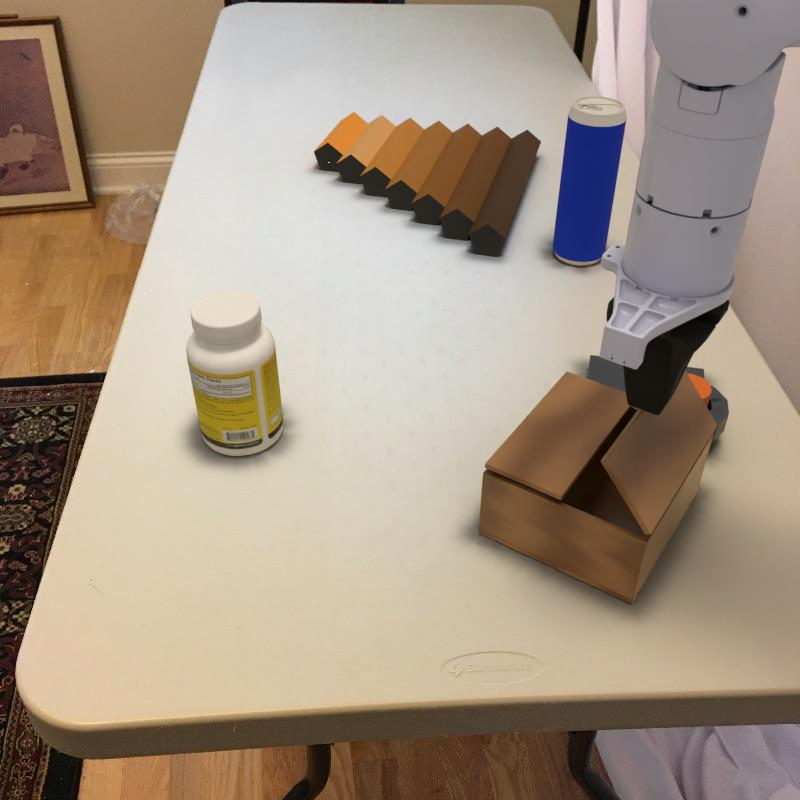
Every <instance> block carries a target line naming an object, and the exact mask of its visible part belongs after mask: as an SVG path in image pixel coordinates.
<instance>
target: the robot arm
mask: <svg viewBox="0 0 800 800" xmlns="http://www.w3.org/2000/svg"><path fill="white" fill-rule="evenodd" d="M649 29H650V36H651V40H652V43H653V46H654V49H655V51H656V53H657V55H658V57H659V61H658V67H657V71H656V72H657V73H656V79H655V84H654V90H653V95H652V97H651V99H650V101H649V108H648V113H647V119H646V125H645V130H644V135H643V142H642V147H641V154H640V159H639V166H638V171H637V176H636V182H635V190H634V195H633V201H632V205H631V212H630V217H629V223H628V228H627V234H626V239H625V244H620V243H619V244H618V243H615V244H612V245H610V246H609V247H608V248H607V249H606V250H605V252H604V253H603V255H602V258H601V259H600V267H601V268H602V269H604V270H606V271H608V272H612V273H614V274H615V276H616V277H615V284H614V285H615V286H614V296H613V297H612V298H611V299H610V300H609V302H608V303H607V308H606V324H604V327H603V333H602V339H601V344H600V345H601V346H600V351H599V356H600V357H601V358H603V359H606V360H609V361H611V362H614V363H617V364H620V365H623V370H624V381H625V391H626V398H627V403H628V405H630V406H633V407H635V408H638V409H641V410H644V411H646V412H649V413H652V414H654V415H660V414H661V412H662V411H663V409H664V408H665V406H666V405H667V403H668V402H669V401H670V399H671V398H672V396H673V394H674V392H675V391H676V389H677V387H678V385H679V383H680V381H681V378H682V376H683V374H684V372H685V370H686V368H687V367H689V364H690V362H691V360H692V359H693V356H694V355H695V353H696V352H697V351H698V350H699V349H700V348H701V347H702V346H703V345H704V343H706V341H707V340H708V339H709V337H710V336H711V335H712V333H713V332H714V330H715V329H716V328H717V325H719V323H720V322H721V320H722V319H723V317H725V315H726V313H727V312H728V310H729V308H730V300H729V299H730V298H731V296H732V293H733V291H734V287H735V283H736V270H735V267H736V265H737V259H738V256H739V251H740V249H741V245H742V241H743V237H744V233H745V229H746V225H747V221H748V218H749V214H750V210H751V207H752V202H753V198H754V194H755V190H756V187H757V183H758V179H759V175H760V171H761V169H762V164H763V160H764V156H765V153H766V148H767V145H768V141H769V137H770V133H771V130H772V126H773V124H774V123H773V122H774V119H775V100H776V97H777V94H778V93H777V92H778V89H779V85H780V81H781V77H782V73H783V70H784V65H785V61H786V59H787V53H786V52H784V51H783V50H784V49H788V48H800V0H653V1H652V4H651V9H650V16H649Z"/></svg>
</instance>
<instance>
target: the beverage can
mask: <svg viewBox="0 0 800 800" xmlns="http://www.w3.org/2000/svg"><path fill="white" fill-rule="evenodd" d="M626 111H627V110H626V107H625V104H624V103H622V102H621V101H619V100H617V99H615V98H610V97H607V96H606V97H605V96H597V95H596V96H595V95H594V96H584V97H580V98H577V99H576V100H574V101H573V102H572V105H571V107H570V109H569V111H568V113H567V122H566V129H565V139H564V147H563V156H562V164H561V172H560V180H559V189H558V197H557V205H556V206H557V207H556V212H555V213H556V214H555V222H554V231H553V239H552V241H553V242H552V251H553V254H555V257H556V258H557V259H559V260H560V261H561V262H564V263H566V264H567V265H571V266H579V267H580V266H581V267H583V266H584V267H585V266H591V265H594V264H596V263H598V262H599V261H601V260H602V255H603V253H604V252H606V251H607V244H608V239H609V238H608V237H609V232H610V225H611V218H612V211H613V207H614V206H613V205H614V199H615V193H616V188H617V181H618V174H619V169H620V163H621V156H622V150H623V143H624V138H625V130H626V125H627V112H626Z"/></svg>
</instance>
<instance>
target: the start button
mask: <svg viewBox="0 0 800 800" xmlns="http://www.w3.org/2000/svg"><path fill="white" fill-rule="evenodd" d="M688 375H689V377H690V379H691V380H692V382H693V384H694V386H695V387H696V389H697V391H698V393H699V394H700V396H701V398H702V399H703V401H704V403H705V405H706V406H707V407H708V403H709V399H710V396H711V392H712V388H711V386H712V385H711V384H710V383H709V382H708V381H707V380H706V378H705V379H703V378H701V377H699V376H697V375H693V374H688ZM710 385H711V386H710Z"/></svg>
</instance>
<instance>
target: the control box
mask: <svg viewBox="0 0 800 800" xmlns="http://www.w3.org/2000/svg"><path fill="white" fill-rule="evenodd" d="M686 372H687V373H688V374H693V375H697V376H699V377H701V378H703V379H705V380H706V377H705V369H704V368H700V367H694V366H693V367H692V366H687V368H686ZM586 378H587V379H590V380H592V381H595V382H598V383H601V384H604V385H606V386H609V387H612V388H615V389H617V390H620V391H623V392H626V391H625V381H624V370H623V365H620V364H617V363H614V362H611V361H609V360H606V359H603V358H601V357H600V355H596V354H595V355H594V354H590V356H589V361H588V369H587V377H586ZM710 386H711V388H712V392H711V396H710V399H709V403H708V407H707V408H708V410H709V412H710V413H711V415H712V417H713V419H714V420H715V422H716V424H717V427H716V429H715V430H714V432H713V433H712V434H713V438H712V442H711V443H713V442H715V441H716V440H717V439H718V437H720V436H721V435H722V433H724V432H725V429H726V425H727V422H728V419H729V415H730V410H729V401H728V398H726V397H725V395H723V394H722V392H721V391H720V390H719V389H717V388H716V387H715V386H714V385H711V384H710Z"/></svg>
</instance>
